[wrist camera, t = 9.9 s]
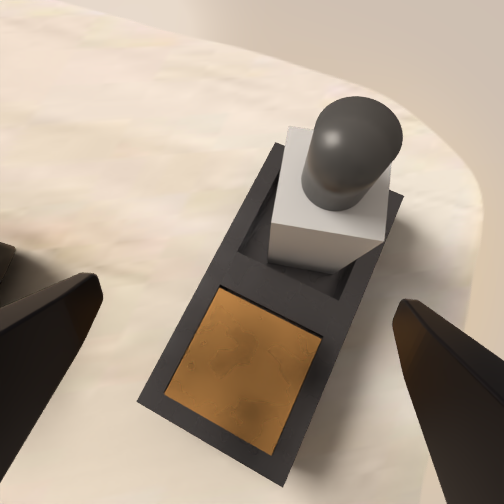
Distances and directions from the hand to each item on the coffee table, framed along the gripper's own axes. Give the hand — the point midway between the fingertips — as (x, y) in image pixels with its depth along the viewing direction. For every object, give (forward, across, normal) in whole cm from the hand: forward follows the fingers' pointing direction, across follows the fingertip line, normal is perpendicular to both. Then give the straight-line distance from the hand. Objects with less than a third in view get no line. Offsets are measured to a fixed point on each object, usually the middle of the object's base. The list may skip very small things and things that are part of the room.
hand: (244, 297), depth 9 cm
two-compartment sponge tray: (+11, -2, +9) cm, 14 cm away
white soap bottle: (+14, -3, +5) cm, 15 cm away
